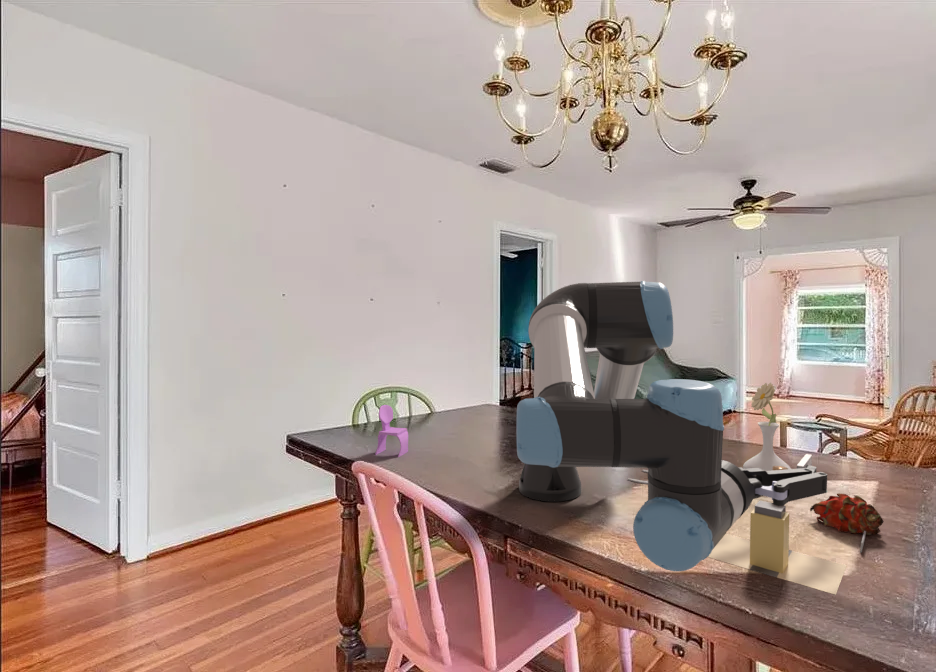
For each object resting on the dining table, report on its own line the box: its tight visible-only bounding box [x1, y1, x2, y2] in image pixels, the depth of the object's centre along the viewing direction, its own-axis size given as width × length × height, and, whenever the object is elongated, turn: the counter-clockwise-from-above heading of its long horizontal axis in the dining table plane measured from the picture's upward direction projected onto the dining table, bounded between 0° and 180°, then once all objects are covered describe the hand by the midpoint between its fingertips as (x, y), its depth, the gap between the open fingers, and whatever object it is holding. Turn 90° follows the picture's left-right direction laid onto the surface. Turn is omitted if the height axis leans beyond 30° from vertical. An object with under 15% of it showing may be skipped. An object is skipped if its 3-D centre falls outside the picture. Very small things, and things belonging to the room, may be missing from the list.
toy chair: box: [374, 404, 409, 458], centre depth 166 cm, size 8×9×15 cm
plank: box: [707, 533, 847, 596], centre depth 97 cm, size 32×12×1 cm, turn 48°
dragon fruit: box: [809, 492, 884, 536], centre depth 105 cm, size 8×8×12 cm
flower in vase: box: [742, 382, 792, 477], centre depth 138 cm, size 13×11×25 cm
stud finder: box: [749, 500, 790, 573], centre depth 91 cm, size 5×4×10 cm
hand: (757, 454), depth 82 cm, fingers open, 13 cm apart
